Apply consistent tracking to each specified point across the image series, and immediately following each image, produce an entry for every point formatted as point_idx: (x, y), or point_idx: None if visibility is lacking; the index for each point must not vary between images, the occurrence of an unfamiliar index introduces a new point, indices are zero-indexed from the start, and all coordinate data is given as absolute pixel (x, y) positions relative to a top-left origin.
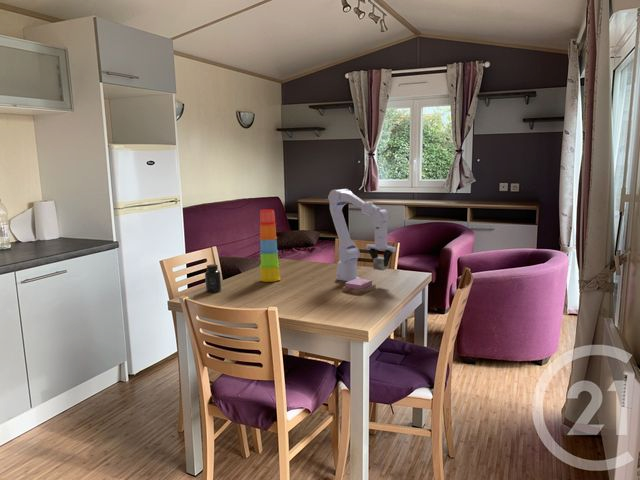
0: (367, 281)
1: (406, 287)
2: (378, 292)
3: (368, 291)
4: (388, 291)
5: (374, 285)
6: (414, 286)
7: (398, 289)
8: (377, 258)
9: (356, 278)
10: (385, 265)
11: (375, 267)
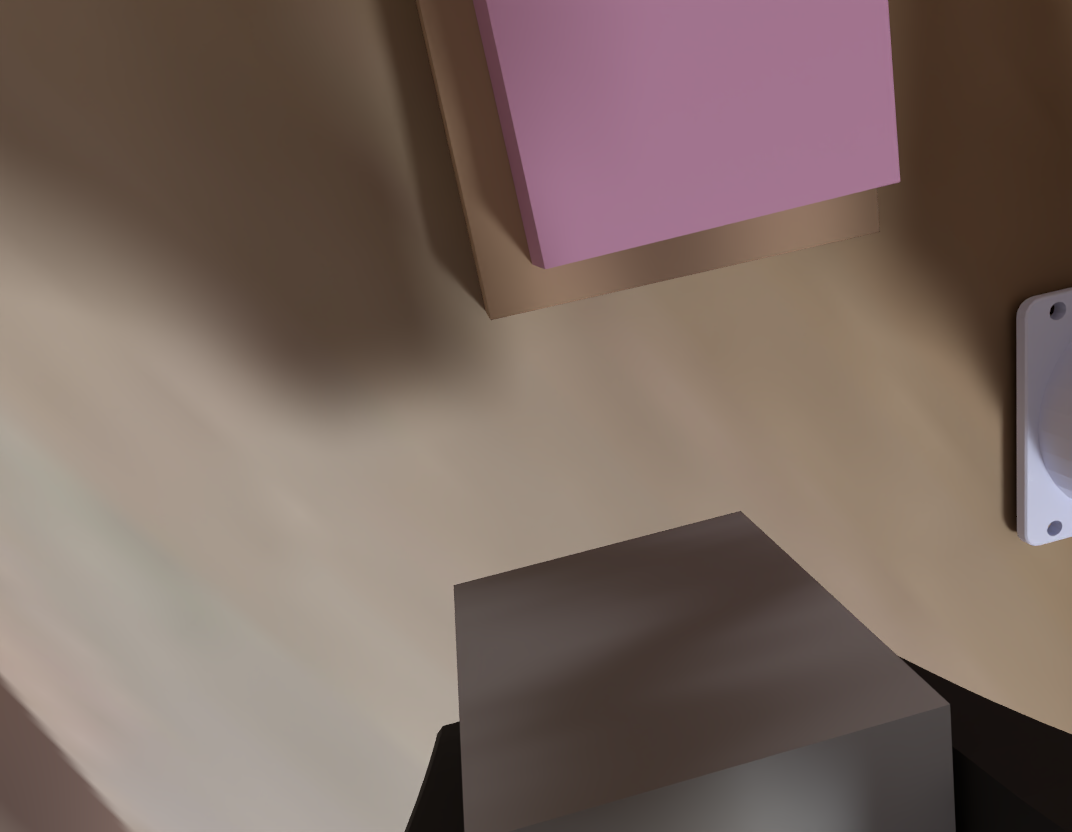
0: (551, 123)
1: (191, 699)
2: (259, 150)
3: (429, 62)
4: (193, 330)
5: (481, 278)
6: (156, 814)
7: (181, 537)
8: (800, 814)
9: (891, 152)
10: (436, 750)
11: (696, 550)
